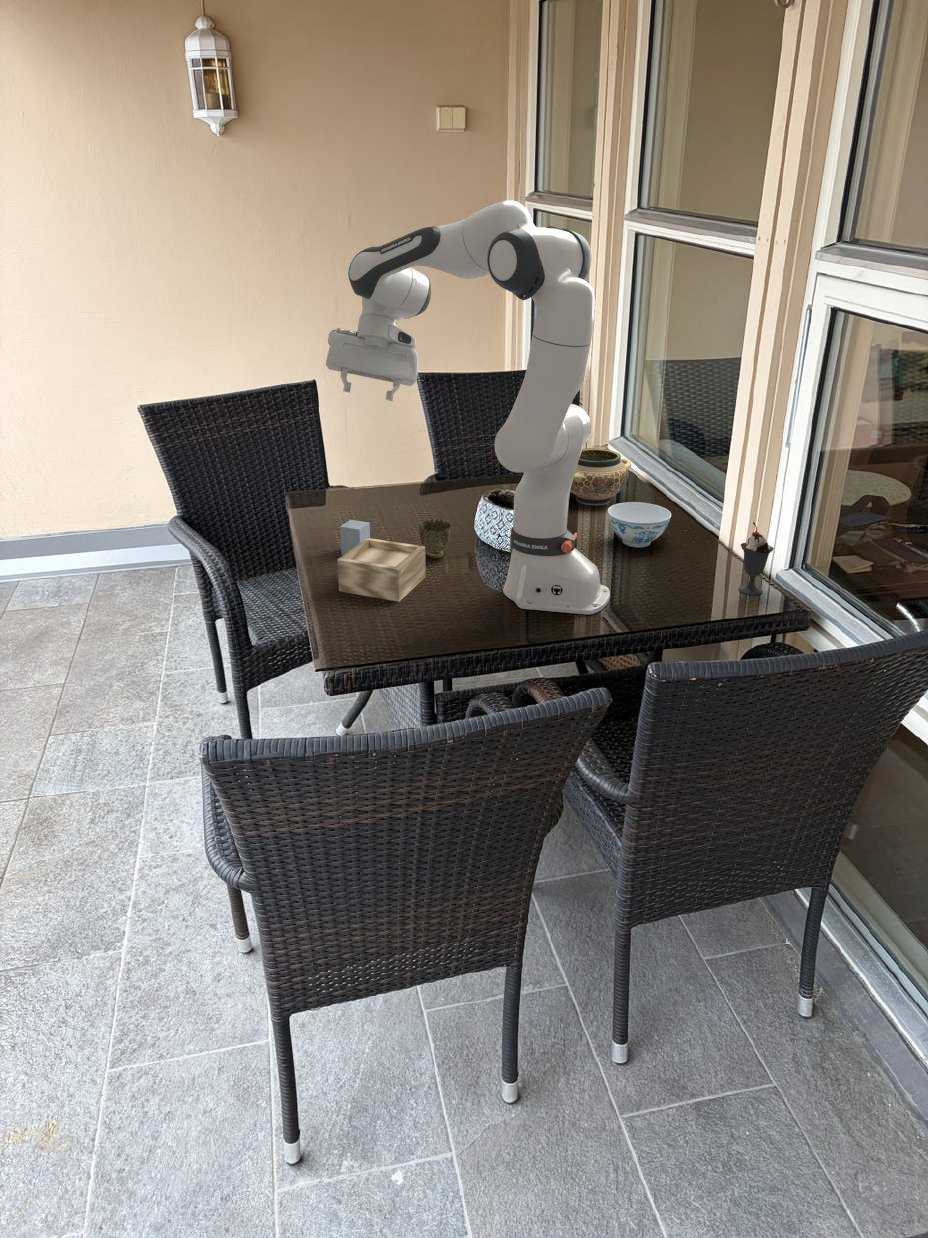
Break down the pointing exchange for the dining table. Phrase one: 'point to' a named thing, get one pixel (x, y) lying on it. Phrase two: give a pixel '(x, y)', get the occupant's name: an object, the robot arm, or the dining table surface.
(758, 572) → the sundae
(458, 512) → the dining table surface
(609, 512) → the chinaware
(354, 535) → the slate block
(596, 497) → the ceramic bowl
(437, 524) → the cup
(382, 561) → the maple box
